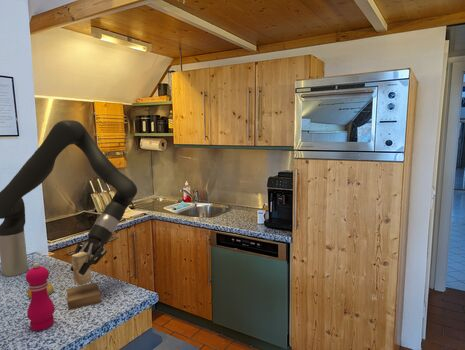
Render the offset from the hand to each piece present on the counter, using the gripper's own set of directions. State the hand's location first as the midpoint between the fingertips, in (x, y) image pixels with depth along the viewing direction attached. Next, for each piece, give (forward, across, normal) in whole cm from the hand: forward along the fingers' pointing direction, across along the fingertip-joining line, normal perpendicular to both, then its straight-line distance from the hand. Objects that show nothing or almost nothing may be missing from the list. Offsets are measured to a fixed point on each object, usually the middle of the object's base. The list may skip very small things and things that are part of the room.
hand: (76, 272), depth 113 cm
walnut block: (+6, 0, +9) cm, 11 cm away
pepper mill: (+18, +2, -2) cm, 18 cm away
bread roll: (+10, -18, +6) cm, 22 cm away
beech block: (+2, 0, +4) cm, 5 cm away
